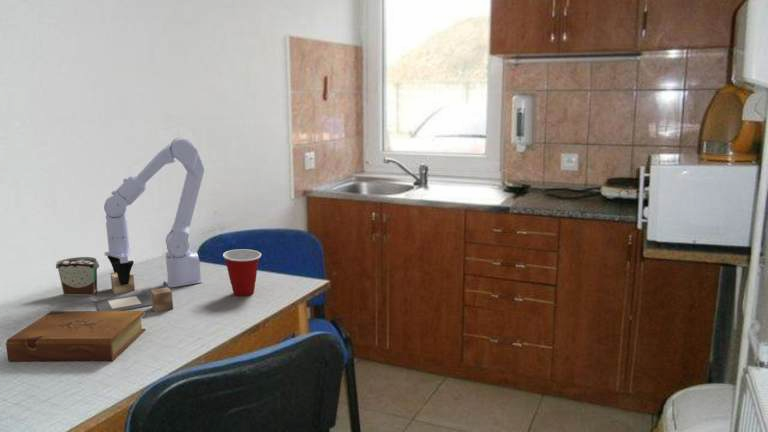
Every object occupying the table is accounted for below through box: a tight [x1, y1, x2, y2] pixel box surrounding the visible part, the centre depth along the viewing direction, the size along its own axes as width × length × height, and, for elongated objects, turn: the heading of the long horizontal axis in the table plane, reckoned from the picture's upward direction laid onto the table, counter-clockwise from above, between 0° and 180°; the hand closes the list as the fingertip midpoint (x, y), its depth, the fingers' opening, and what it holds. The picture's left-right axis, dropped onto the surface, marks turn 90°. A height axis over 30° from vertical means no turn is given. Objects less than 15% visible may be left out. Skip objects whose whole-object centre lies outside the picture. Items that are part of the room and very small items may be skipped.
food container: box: [55, 256, 100, 297], centre depth 187 cm, size 12×6×10 cm, turn 84°
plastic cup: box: [222, 248, 262, 297], centre depth 183 cm, size 11×11×12 cm
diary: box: [5, 310, 146, 363], centre depth 148 cm, size 23×19×6 cm
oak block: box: [109, 270, 136, 294], centre depth 190 cm, size 6×6×5 cm
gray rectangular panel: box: [94, 292, 152, 311], centre depth 177 cm, size 14×12×1 cm
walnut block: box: [150, 286, 174, 313], centre depth 172 cm, size 4×4×5 cm
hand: (122, 281), depth 189 cm, fingers open, 7 cm apart
